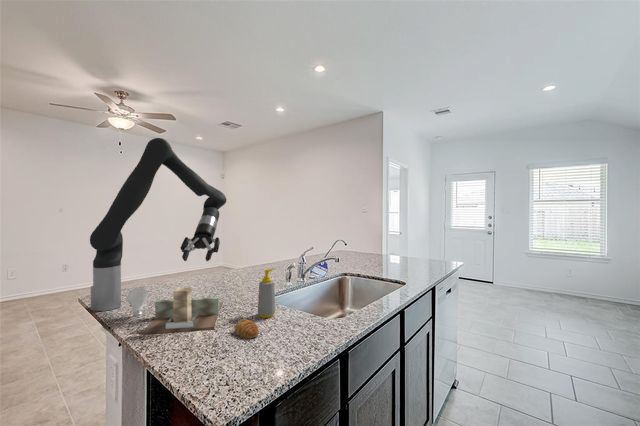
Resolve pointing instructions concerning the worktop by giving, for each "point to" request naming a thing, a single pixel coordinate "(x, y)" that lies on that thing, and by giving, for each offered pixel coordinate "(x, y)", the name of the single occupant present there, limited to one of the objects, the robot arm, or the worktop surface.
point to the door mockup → (202, 306)
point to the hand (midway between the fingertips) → (195, 260)
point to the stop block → (182, 304)
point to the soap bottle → (266, 296)
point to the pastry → (246, 329)
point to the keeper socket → (182, 322)
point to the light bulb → (137, 299)
